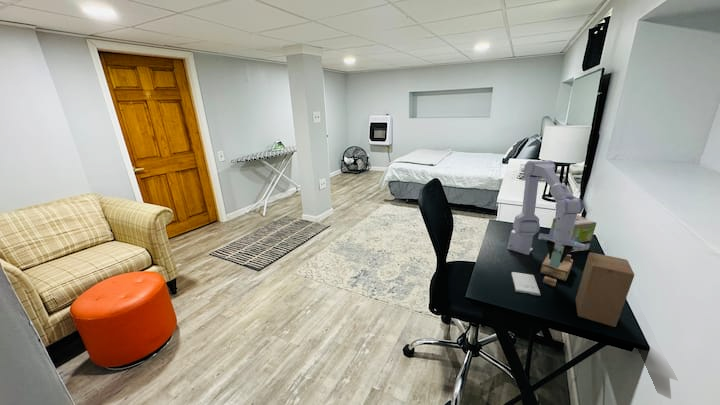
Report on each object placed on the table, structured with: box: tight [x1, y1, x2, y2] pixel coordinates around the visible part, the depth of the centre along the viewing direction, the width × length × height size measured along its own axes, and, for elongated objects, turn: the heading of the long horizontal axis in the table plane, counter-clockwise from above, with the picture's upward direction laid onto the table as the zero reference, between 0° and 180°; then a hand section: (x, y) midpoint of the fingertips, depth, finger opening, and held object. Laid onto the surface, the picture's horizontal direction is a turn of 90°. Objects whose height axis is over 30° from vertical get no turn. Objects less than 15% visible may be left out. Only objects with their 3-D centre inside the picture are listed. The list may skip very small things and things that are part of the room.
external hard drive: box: [511, 271, 541, 296], centre depth 113 cm, size 2×8×12 cm
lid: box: [541, 252, 574, 273], centre depth 119 cm, size 9×12×3 cm
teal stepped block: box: [549, 248, 563, 268], centre depth 111 cm, size 3×4×7 cm
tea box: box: [548, 214, 597, 253], centre depth 137 cm, size 15×10×15 cm, turn 104°
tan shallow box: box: [539, 261, 574, 287], centre depth 118 cm, size 9×19×3 cm, turn 137°
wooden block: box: [575, 251, 635, 328], centre depth 94 cm, size 10×10×20 cm
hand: (555, 260), depth 112 cm, fingers closed on teal stepped block, 3 cm apart
